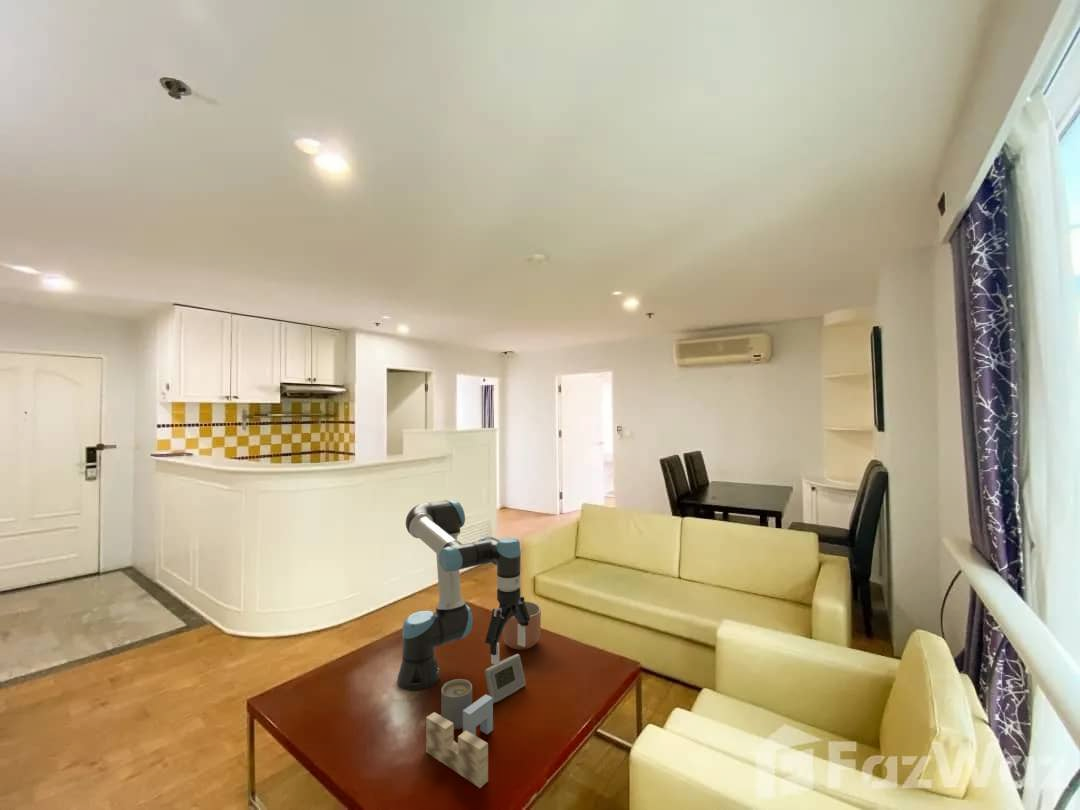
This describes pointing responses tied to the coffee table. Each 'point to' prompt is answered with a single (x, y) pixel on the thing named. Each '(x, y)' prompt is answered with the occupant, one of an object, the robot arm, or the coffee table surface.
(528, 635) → the planter
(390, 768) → the coffee table surface
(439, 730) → the maple rail
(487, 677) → the digital clock
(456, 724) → the coffee mug
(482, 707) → the bridge plate
